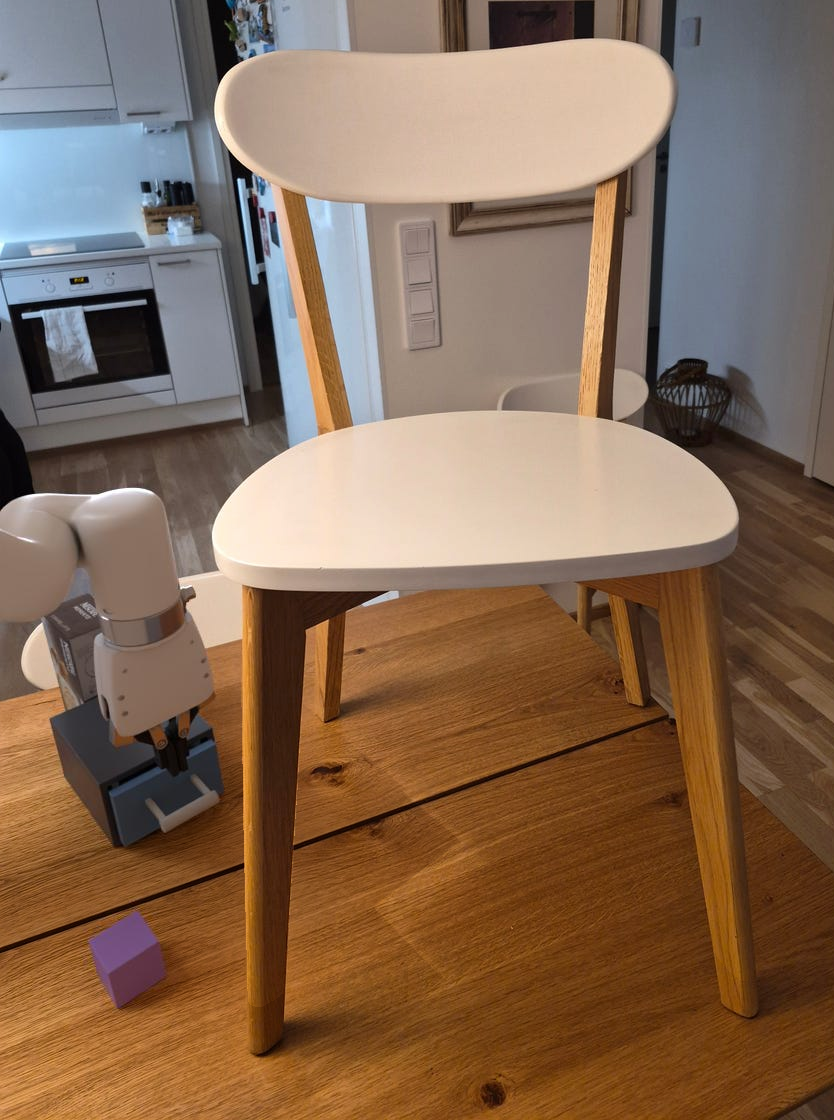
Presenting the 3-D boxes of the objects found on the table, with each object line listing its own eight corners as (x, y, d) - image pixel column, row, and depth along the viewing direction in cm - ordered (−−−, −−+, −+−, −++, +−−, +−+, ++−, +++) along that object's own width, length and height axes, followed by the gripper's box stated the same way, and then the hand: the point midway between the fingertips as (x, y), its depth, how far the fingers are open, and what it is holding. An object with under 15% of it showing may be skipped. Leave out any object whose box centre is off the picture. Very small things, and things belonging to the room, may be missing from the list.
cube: (117, 1009, 74) (107, 974, 72) (97, 975, 77) (87, 940, 75) (167, 976, 77) (159, 941, 75) (145, 944, 80) (137, 909, 78)
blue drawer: (247, 816, 93) (239, 767, 90) (146, 876, 86) (134, 825, 83) (171, 734, 105) (162, 689, 103) (77, 781, 98) (64, 733, 95)
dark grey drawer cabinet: (222, 787, 98) (212, 727, 95) (114, 847, 90) (98, 784, 87) (167, 727, 108) (155, 671, 104) (64, 777, 100) (48, 718, 97)
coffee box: (145, 725, 108) (122, 617, 102) (95, 751, 104) (68, 640, 98) (112, 695, 114) (88, 591, 108) (63, 718, 110) (36, 611, 103)
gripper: (197, 574, 88) (223, 717, 95) (47, 632, 79) (88, 785, 86) (233, 601, 83) (257, 749, 90) (77, 666, 74) (118, 826, 81)
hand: (174, 766), depth 88 cm, fingers closed
